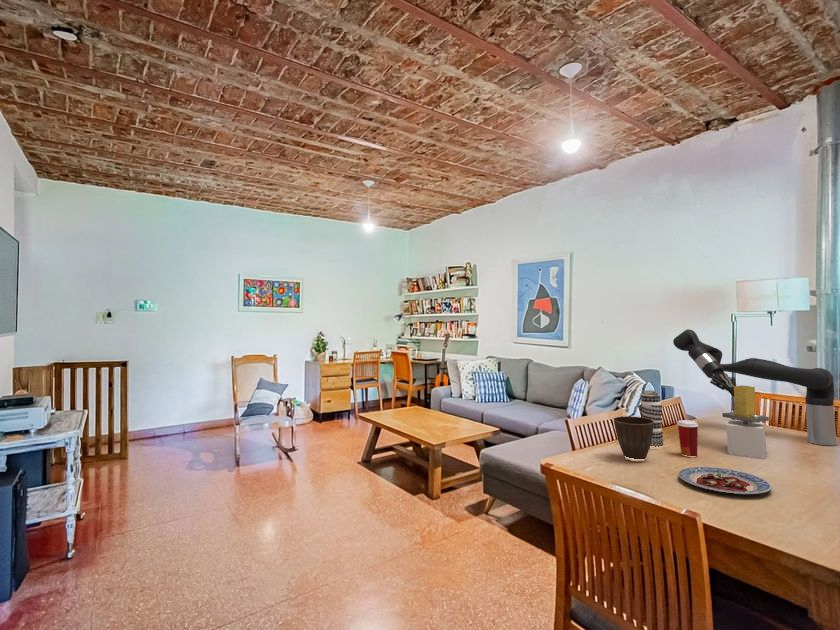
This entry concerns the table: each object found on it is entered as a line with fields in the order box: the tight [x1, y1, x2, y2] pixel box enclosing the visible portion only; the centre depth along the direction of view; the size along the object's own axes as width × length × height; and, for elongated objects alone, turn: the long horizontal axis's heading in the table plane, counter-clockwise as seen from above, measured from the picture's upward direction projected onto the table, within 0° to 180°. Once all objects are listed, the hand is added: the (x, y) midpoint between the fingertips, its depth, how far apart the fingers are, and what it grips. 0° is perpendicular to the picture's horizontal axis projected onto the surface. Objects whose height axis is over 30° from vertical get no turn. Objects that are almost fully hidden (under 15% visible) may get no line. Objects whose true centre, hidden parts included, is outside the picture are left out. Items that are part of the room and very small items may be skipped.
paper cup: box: [676, 419, 699, 457], centre depth 179 cm, size 8×8×14 cm
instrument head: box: [722, 385, 770, 423], centre depth 181 cm, size 12×10×14 cm
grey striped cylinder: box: [639, 389, 664, 447], centre depth 193 cm, size 9×9×25 cm
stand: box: [725, 419, 767, 460], centre depth 180 cm, size 12×12×14 cm
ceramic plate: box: [677, 466, 772, 495], centre depth 146 cm, size 26×26×3 cm
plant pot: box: [613, 416, 654, 460], centre depth 176 cm, size 15×15×16 cm
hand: (737, 396), depth 184 cm, fingers closed
